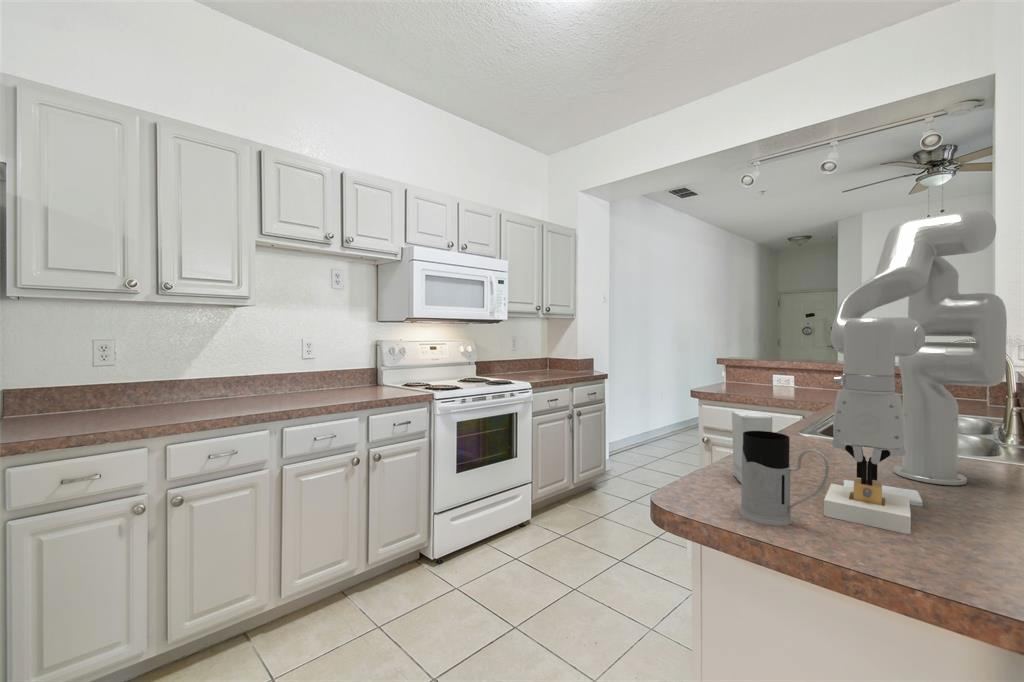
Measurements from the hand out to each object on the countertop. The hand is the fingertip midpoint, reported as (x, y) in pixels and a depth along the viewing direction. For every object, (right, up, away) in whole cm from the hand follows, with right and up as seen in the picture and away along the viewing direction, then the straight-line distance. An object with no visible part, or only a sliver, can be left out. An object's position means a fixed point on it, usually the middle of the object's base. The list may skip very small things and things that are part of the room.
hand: (866, 482), depth 84 cm
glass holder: (-17, -6, -2) cm, 19 cm away
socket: (0, -6, 0) cm, 6 cm away
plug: (0, -6, 0) cm, 6 cm away
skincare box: (-11, -6, +19) cm, 23 cm away
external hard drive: (+11, -7, +11) cm, 17 cm away
